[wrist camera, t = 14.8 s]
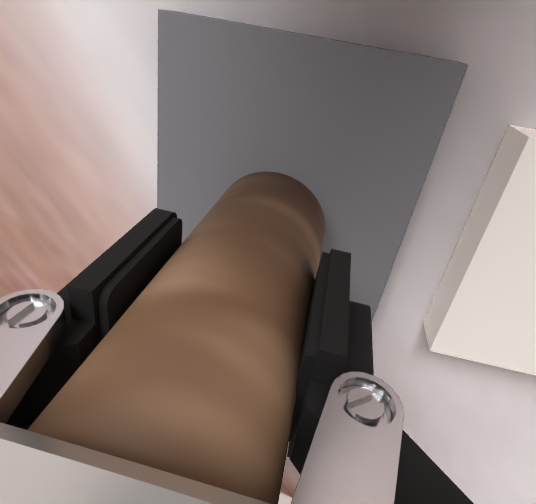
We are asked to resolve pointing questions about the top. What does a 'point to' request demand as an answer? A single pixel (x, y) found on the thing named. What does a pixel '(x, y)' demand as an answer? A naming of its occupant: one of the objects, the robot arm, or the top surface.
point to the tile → (494, 268)
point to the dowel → (208, 348)
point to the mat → (301, 129)
